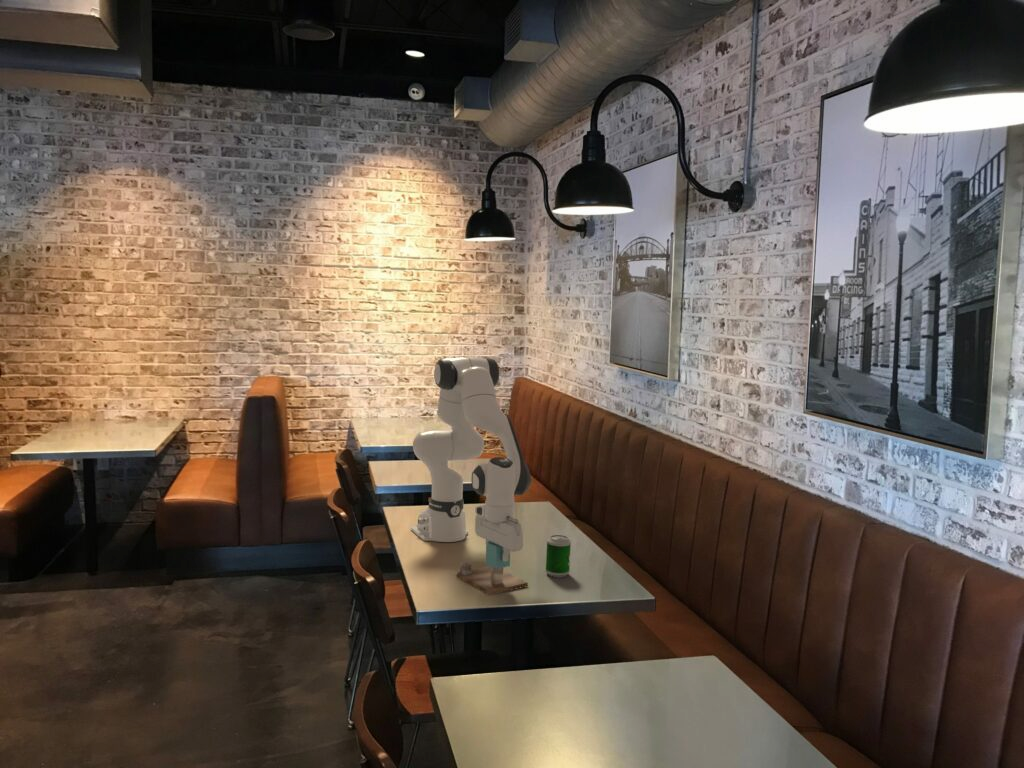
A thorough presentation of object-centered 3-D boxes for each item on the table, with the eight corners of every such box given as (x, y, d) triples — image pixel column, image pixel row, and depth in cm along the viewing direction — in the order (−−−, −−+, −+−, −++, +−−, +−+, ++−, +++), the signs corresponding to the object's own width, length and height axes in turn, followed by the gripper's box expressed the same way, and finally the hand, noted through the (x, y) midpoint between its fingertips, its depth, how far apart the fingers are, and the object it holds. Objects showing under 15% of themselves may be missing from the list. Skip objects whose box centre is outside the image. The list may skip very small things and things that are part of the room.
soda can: (567, 579, 252) (569, 542, 251) (543, 576, 253) (545, 539, 252) (570, 571, 259) (572, 535, 258) (547, 569, 261) (549, 533, 259)
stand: (456, 576, 250) (457, 553, 249) (493, 569, 259) (494, 547, 258) (489, 594, 236) (490, 571, 235) (527, 586, 244) (528, 563, 243)
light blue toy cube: (485, 564, 243) (486, 542, 243) (499, 561, 246) (500, 540, 246) (495, 568, 239) (496, 547, 238) (509, 566, 242) (510, 544, 241)
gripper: (529, 519, 235) (527, 565, 236) (489, 503, 251) (487, 547, 252) (511, 522, 231) (509, 569, 232) (472, 506, 247) (470, 550, 249)
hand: (497, 557), depth 242 cm, fingers closed on light blue toy cube, 5 cm apart
